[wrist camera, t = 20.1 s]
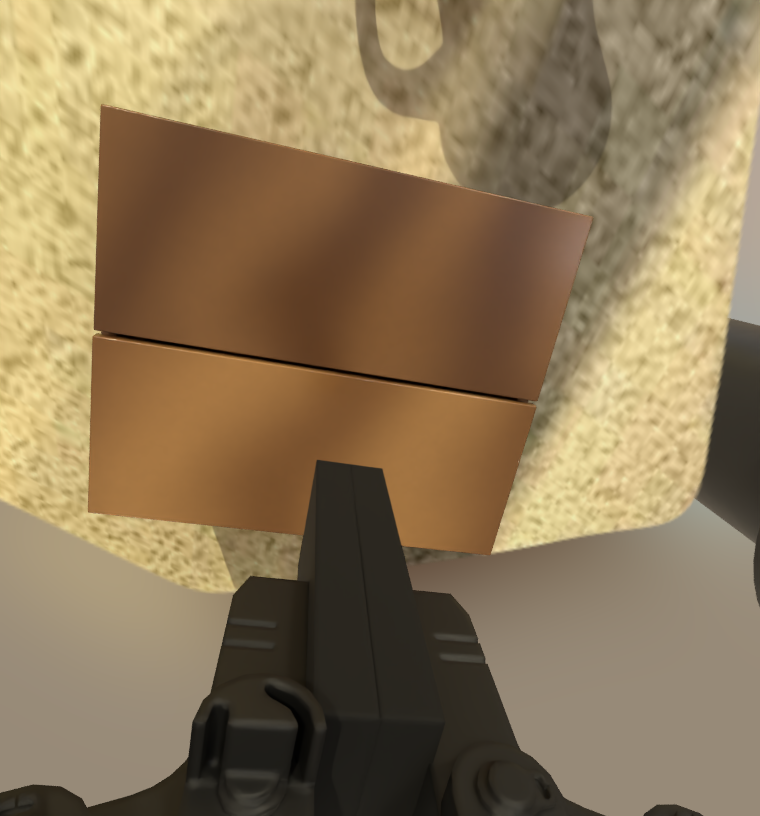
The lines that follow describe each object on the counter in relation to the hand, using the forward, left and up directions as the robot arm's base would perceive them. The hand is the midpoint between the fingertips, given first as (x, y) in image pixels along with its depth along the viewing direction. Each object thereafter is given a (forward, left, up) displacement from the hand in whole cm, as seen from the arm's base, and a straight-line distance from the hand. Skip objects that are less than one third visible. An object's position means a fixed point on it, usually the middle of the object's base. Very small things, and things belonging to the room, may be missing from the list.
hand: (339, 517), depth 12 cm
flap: (0, +2, -7) cm, 7 cm away
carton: (0, -2, -18) cm, 18 cm away
